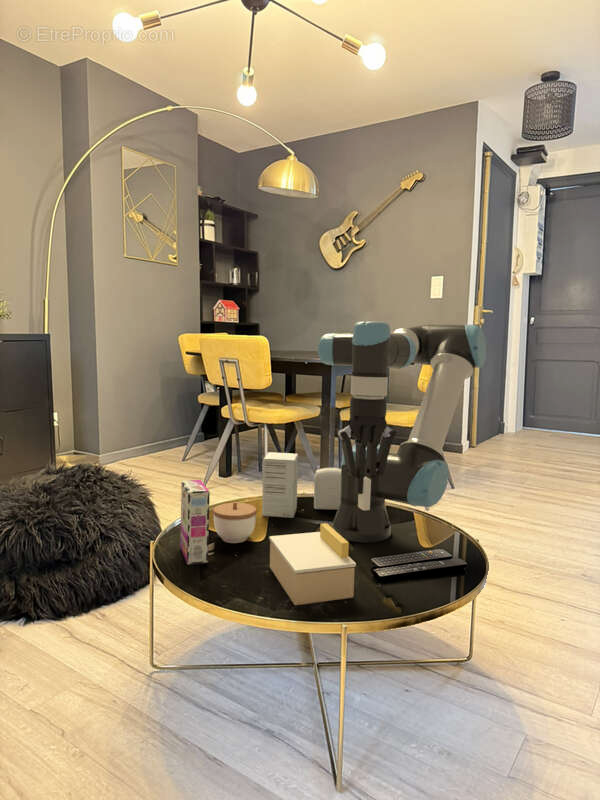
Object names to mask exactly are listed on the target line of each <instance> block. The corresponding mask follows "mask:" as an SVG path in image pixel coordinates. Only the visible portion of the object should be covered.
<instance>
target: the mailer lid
mask: <svg viewBox="0 0 600 800" xmlns="http://www.w3.org/2000/svg"><path fill="white" fill-rule="evenodd" d="M319 527H320V528H319V529H320V531H314V532H304V533H292V534H281V535H271V536H269V537H268V539H269V542H270V541H271V542H272V543H273V545H274V546H275V547H276V549H277V550H278V552H279V553H280V554H281V556H282V557H283V558H284V560H285V561H286V562H287V564H288V565H289V566H290V568H291V569H292V570H293V572H294V573H304V572H313V571H321V570H330V569H339V568H347V567H354V568H355V567H357V563H356V562H355V561H354V560H353V559H352V558H351V557H350V556H349V547H350V546H349V545H350V543H349V542H350V541H348V540H345V539H344V538H343V537H342V536H341V535H339V534H338V533H337V532H336V531H335V530H334V529H333V526H331V525H330V524H328V523H325V522H324V523H320V526H319Z"/></svg>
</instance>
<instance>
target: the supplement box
mask: <svg viewBox="0 0 600 800" xmlns="http://www.w3.org/2000/svg"><path fill="white" fill-rule="evenodd" d="M298 468H299V453H290V452H275V451H274V452H273V451H272V452H271V451H269V452H267V454H266V455H265V457H264V458H262V491H261V492H262V493H261V494H262V496H261V497H262V499H261V500H262V503H261V505H262V506H261V507H262V508H261V516H262V517H272V518H273V517H276V518H291V519H292V518H294V517H295V514H296V512H297V503H298V472H299V471H298V470H299V469H298Z"/></svg>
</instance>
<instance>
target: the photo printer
mask: <svg viewBox="0 0 600 800" xmlns="http://www.w3.org/2000/svg"><path fill="white" fill-rule="evenodd" d="M313 482H314V483H313V485H314V486H313V487H314V488H313V491H314V492H313V499H314V500H313V509H315V510H338V508H339V505H340V498H341V468H338V467H324V468H319V469H317V470H315V474H314V481H313Z"/></svg>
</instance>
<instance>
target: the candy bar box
mask: <svg viewBox="0 0 600 800" xmlns="http://www.w3.org/2000/svg"><path fill="white" fill-rule="evenodd" d="M180 484H181V487H180V489H181V491H180V550H181V553H182V555H183V557H184V560H185V562H186V564H187V566H188V565H189V566H190V565H191V566H192V565H200V564H208V563H209V538H210V537H209V536H210V534H209V531H210V528H209V527H210V490H209V489H208V488H207V486H206V484H205V483H203V481H202V480H200V479H193V480H192V479H190V480H181V482H180Z"/></svg>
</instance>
